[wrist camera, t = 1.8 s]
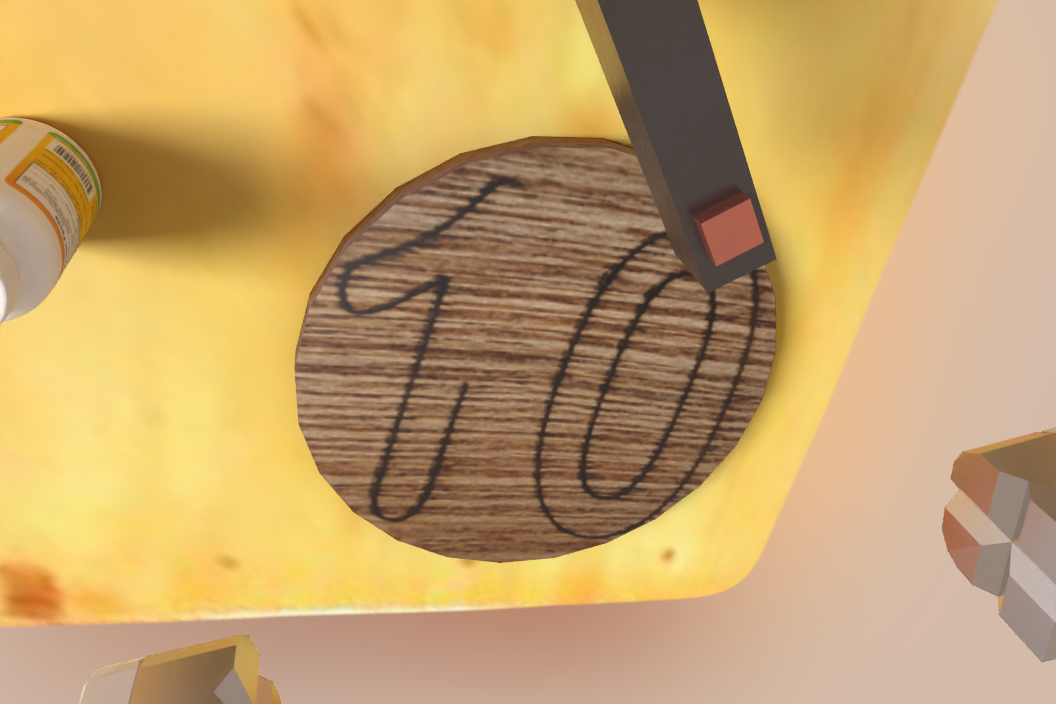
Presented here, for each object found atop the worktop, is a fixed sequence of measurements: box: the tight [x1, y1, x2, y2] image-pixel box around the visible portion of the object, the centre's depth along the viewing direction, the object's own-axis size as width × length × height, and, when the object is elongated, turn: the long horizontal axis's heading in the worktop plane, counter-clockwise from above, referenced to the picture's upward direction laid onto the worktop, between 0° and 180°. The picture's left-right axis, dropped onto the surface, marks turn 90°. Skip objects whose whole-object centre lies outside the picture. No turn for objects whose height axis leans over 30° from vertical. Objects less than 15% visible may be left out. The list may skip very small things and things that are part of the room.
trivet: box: [295, 136, 776, 563], centre depth 42 cm, size 25×25×2 cm
